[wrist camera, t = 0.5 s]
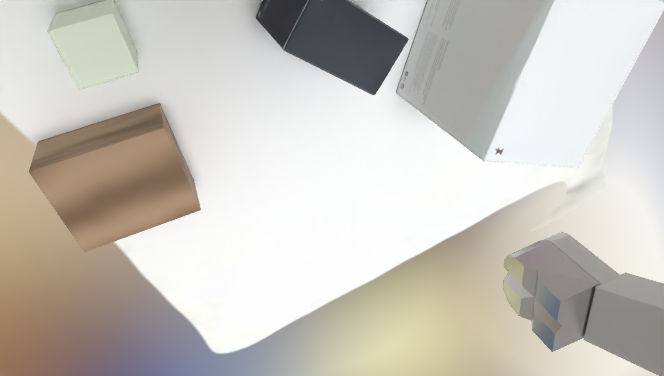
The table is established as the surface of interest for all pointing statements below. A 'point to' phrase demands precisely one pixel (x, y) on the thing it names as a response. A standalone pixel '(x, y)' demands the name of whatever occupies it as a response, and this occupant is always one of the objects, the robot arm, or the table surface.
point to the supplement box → (525, 72)
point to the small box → (335, 38)
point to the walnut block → (115, 177)
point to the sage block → (94, 43)
